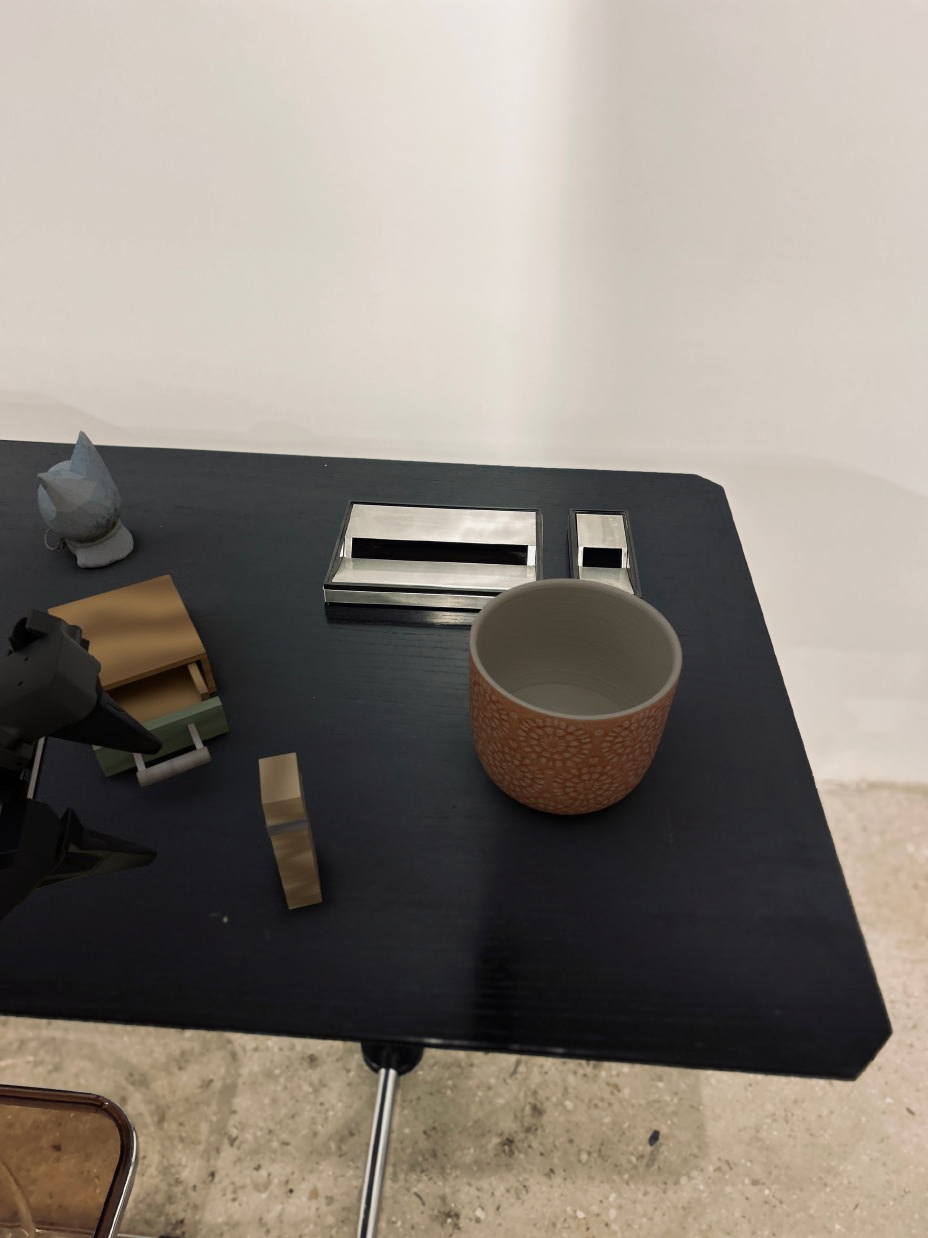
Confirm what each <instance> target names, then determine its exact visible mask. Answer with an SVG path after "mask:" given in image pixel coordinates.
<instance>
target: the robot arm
mask: <svg viewBox="0 0 928 1238" xmlns="http://www.w3.org/2000/svg"><path fill="white" fill-rule="evenodd" d="M8 641H9V644H10V646H11V649H10V648H8V649H7V650H4V652H3V655H2V659H1V661H0V923H2V921H4V920H5V918H6V917H7V916H8V915H9V914H10V913H11V912H13V910H14V909H15V908H18V907H20V906H21V905H22V904H23V903H24V902H25V901H26V900H27V899H28V898H29V897H30V896H31V895H32V894H33V893H34V892H35V891H38V890H41V889H45V888H48V887H52V886H56V885H59V884H62V883H65V882H70V881H73V880H74V881H75V880H78V879H84V878H88V877H93V876H98V875H99V876H100V875H104V874H110V873H115V872H121V871H126V870H132V869H137V868H143V867H148V866H149V865H151V864H152V863H153V862H154V861H155V860H156V859H157V858H158V852H157V851H156V850H155V849H152V848H151V847H147V846H146V845H143V844H141V843H138V842H136V841H132V840H129V839H126V838H122V837H120V836H117V835H114V834H113V835H112V834H109V833H106V832H103V831H99V830H96V829H92V828H90V827H86V826H85V825H83V823H82V822H81V820H80V819H79V817H78V815H77V813H76V812H75V810H74V809H73V808H72V806H68V807H67V808H66V809H65V811H63V812H62V813H61V815H60V816H59V815H58V814H57V812H56V811H55V809H53V807H51V804H50V803H48V802H44V801H42V800H38V799H37V796H38V791H39V787H40V781H41V778H42V777H41V776H42V771H43V766H44V762H45V756H46V751H47V747H48V741H49V738H53V739H58V740H64V741H70V742H75V743H80V744H85V745H90V746H92V745H95V746H100V747H105V748H110V749H115V750H120V751H125V752H131V753H139V754H149V755H155V754H157V753H158V752H159V751H160V750H161V749H162V745H163V743H162V742H161V741H160V740H159V739H158V738H157V737H156V736H154V735H153V734H152V733H151V732H150V731H149V730H147V729H146V728H145V727H144V726H143V725H141V724H140V723H139V722H138V721H137V720H136V719H134V718H133V717H132V716H131V715H130V714H129V713H127V712H126V711H125V710H124V709H123V708H122V707H120V706H119V705H118V704H117V703H116V702H115V701H114V700H113V699H112V698H111V697H110V696H109V695H108V694H107V693H106V692H105V691H104V689H103V688H102V685H101V681H100V678H99V674H98V673H100V672H101V663H100V662H99V661H98V660H97V659H96V658H95V657H94V656H93V655H91V654H89V653H88V650H89V644H90V641H89V640H87V639H84V638H82V629H81V627H79V626H77V625H69V624H68V623H67V622H66V621H65V620H63V619H62V618H59V617H56V616H53V615H50V614H49V613H48V612H44V611H41V610H38V609H35V608H29V609H28V610H26V611H24V612H22V613H20V614H19V615H17V616H15V617H14V618H13V619H12V623H11V627H10V630H9V633H8ZM22 774H23V775H22ZM21 776H22V778H21Z"/></svg>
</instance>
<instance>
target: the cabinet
mask: <svg viewBox="0 0 928 1238" xmlns="http://www.w3.org/2000/svg"><path fill="white" fill-rule="evenodd" d="M47 613H48V614H50V615H53V616H56V617H59V618H62V619H63V620H65V621H66V622H67V623H68V624H69V625H77V626H79V627H81V629H82V638H84V639H87V640H89V641H90V644H89V650H88V653H89V654H91V655H93V656H94V657H95V658H96V659H97V660H98V661H99V662H100V663H101V672H100V673H98V674H99V678H100V681H101V685H102V688H103V689H104V691H106V690H109V689H112V688H115V687H118V686H121V685H124V684H127V683H130V682H133V681H136V680H139V679H142V678H145V677H148V676H151V675H154V674H157V673H160V672H163V671H166V670H169V669H172V668H175V667H178V666H181V665H184V664H187V663H190V662H193V661H195V663H196V665H197V667H198V669H199V672H200V674H201V676H202V678H203V680H204V683H205V685H206V687H207V689H208V692H209V694H211V693H215V692H217V691H218V690H217V685H216V683H215V679H214V676H213V672H212V668H211V665H210V661H209V658H208V654H207V651H206V649H205V646H204V644H203V642H202V640H201V638H200V636H199V633H198V631H197V629H196V627H195V625H194V623H193V621H192V619H191V617H190V615H189V612H188V611H187V608H186V606H185V604H184V602H183V600H182V598H181V596H180V594H179V591H178V590H177V587H176V585H175V583H174V581H173V579H172V576H171V575H170V574H165V575H162V576H157V577H154V578H151V579H148V580H144V581H141V582H138V583H134V584H129V585H127V586H123V587H120V588H116V589H112V590H110V591H106V592H103V593H99V594H96V595H92V596H88V597H85V598H82V599H79V600H75V601H72V602H67V603H65V604H61V605H57V606H54V607H50V608H47Z"/></svg>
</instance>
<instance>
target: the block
mask: <svg viewBox="0 0 928 1238" xmlns="http://www.w3.org/2000/svg"><path fill="white" fill-rule="evenodd" d="M258 765H259V767H258V768H259V782H260V799H261V806H262V810H263V813H264V819H265V829H266V832H267V836H268V837H270V841H271V846H272V849H273V853H274V857H275V861H276V865H277V868H278V872H279V876H280V881H281V883H282V888H283V891H284V895H285V900H286V903H287V907H288V910H293V909H297V908H302V907H306V906H311V905H316V904H320V903H322V902H323V896H322V888H321V881H320V874H319V873H320V872H319V866H318V857H317V852H316V847H315V843H314V838H313V833H312V827H311V822H310V818H309V812H308V807H307V803H306V795H305V787H304V786H305V785H304V779H303V775H302V772H300V767H299V763H298V757H297V753H296V752H290V753H284V754H279V755H274V756H268V757H264V758H259V759H258Z"/></svg>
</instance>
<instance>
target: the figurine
mask: <svg viewBox="0 0 928 1238" xmlns="http://www.w3.org/2000/svg"><path fill="white" fill-rule="evenodd" d="M72 451H73V452H72V454H71V457H70V459H69V460H64V461H61V462H58V463H57V464H55V465H53V466H51V468H49V469H48V470H47V472H41V473H40V472H39V473H37V475H36V480H37V481H38V485H37V504H38V509H39V512H40V515H41V517H42V519H43V521H44V522H45V524H46V525H47V527H48V529H47V530H46V531H45V534H44V544H45V547H46V548H47V549H48V550H50V551H56V550H59V549H60V547H61V548H62V549H69V551H70V552H71V553H72V554H73V555H74V556H76V559H77V561H76V563H77V565H78V567H80V568H81V569H97V568H102V567H107V566H109V565H111V564H113V563H115V562H117V561H120V560H123V559H125V558H126V557H127V556H128V555H129V554H130V553H132V552H133V550H134V546H135V545H134V544H135V543H134V538H133V535H132V534H131V532H130V531H129V530H128V529H127V528H126V527H125V526H124V524H123V522H122V520H121V515H122V512H123V507H124V505H123V500H122V496H121V493H120V492H119V490H118V487H117V485H116V484H115V482H114V479H113V478H112V475H111V473H110V471H109V470H108V467H107V466H106V464H105V462H104V461H103V458H102V456H101V455H100V453H99V452H98V450H97V448H96V447H95V445H94V443H93V442H92V441H91V439H90V438H89V437H88V435H87V433H85V432H84V431H83V430H80V431H79V433H78V437H77V440H76V442H75V446H74V448H73V450H72ZM51 531H52V532H53V533H55V534H56V535H58V536H59V537H60V538H59V541H58V543H57V544H56V547H51V546H49V545H48V543H47V540H48V539H47V538H48V535H49V533H50V532H51Z"/></svg>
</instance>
